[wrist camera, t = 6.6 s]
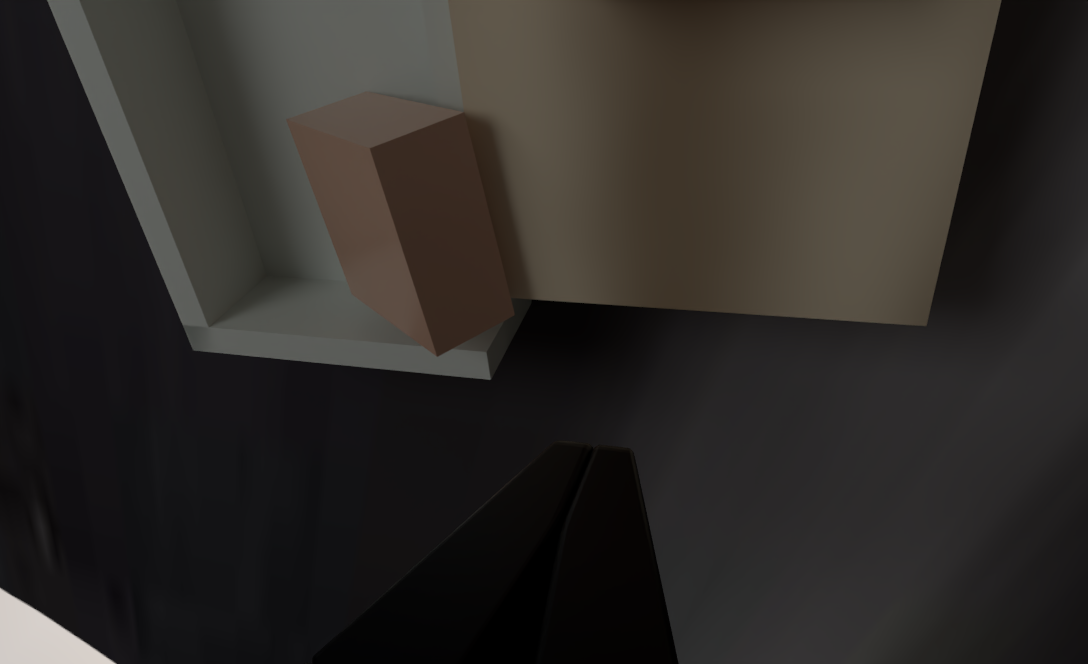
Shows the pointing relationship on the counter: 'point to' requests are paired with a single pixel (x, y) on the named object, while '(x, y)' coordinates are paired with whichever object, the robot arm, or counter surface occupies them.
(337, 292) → the tray
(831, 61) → the tan flat block
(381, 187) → the tile
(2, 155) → the counter surface
